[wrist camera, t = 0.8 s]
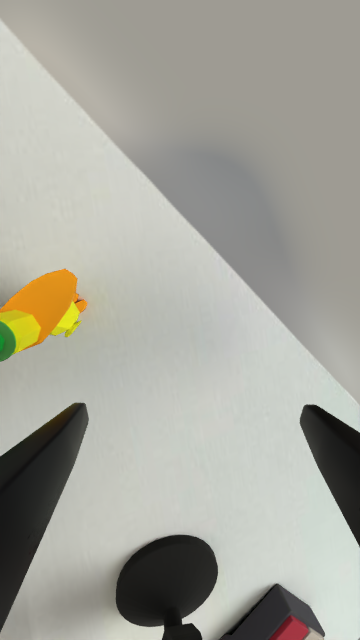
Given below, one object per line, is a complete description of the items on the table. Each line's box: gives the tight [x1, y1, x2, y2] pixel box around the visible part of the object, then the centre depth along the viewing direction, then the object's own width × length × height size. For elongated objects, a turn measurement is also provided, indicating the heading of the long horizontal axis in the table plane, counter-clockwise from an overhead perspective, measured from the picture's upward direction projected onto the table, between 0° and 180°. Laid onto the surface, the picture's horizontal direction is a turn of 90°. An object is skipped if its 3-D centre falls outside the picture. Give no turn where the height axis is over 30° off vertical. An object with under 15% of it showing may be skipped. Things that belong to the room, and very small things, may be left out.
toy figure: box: [0, 269, 87, 362], centre depth 14 cm, size 7×4×12 cm, turn 137°
